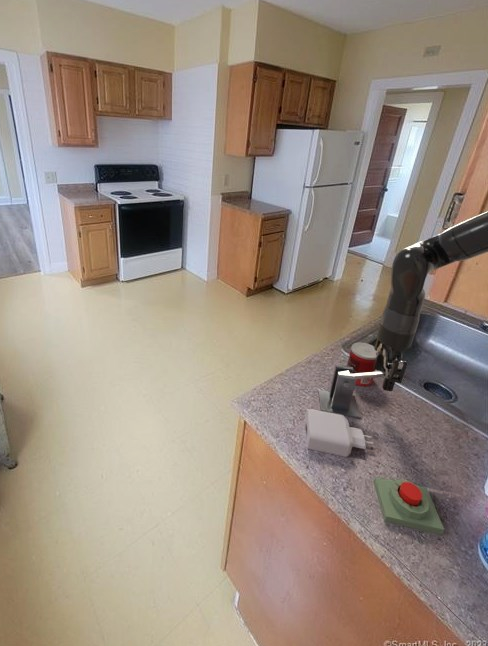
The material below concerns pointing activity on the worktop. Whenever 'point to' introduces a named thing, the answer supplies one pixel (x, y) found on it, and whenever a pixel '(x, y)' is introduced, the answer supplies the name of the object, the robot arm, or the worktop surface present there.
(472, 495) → the worktop surface
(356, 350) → the canned food
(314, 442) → the charger
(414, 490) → the button
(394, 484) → the button box
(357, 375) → the tap lever
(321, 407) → the tap bracket
